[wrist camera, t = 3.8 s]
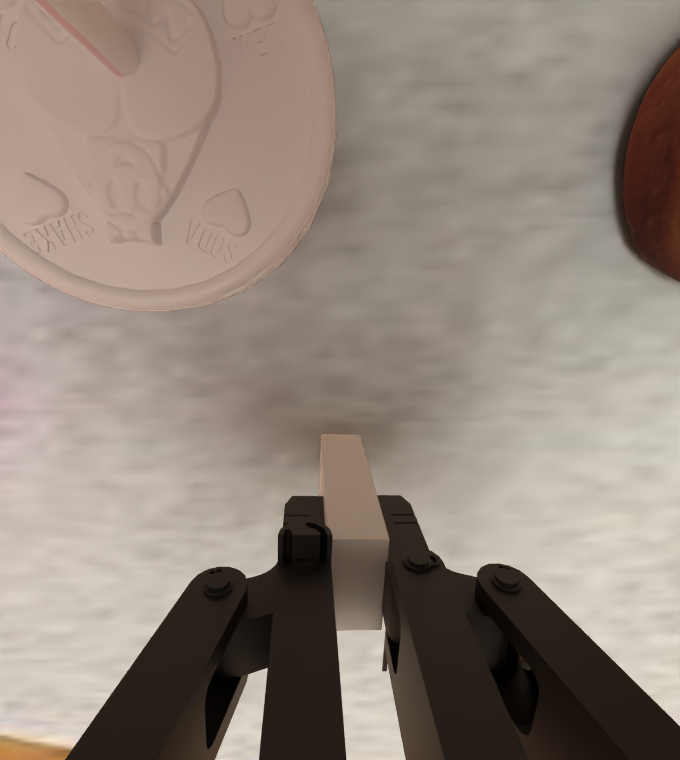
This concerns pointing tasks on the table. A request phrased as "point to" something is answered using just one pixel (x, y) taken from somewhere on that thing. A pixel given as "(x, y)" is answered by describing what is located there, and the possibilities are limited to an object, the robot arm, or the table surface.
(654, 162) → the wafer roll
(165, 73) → the smoothie
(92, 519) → the table surface
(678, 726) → the robot arm
